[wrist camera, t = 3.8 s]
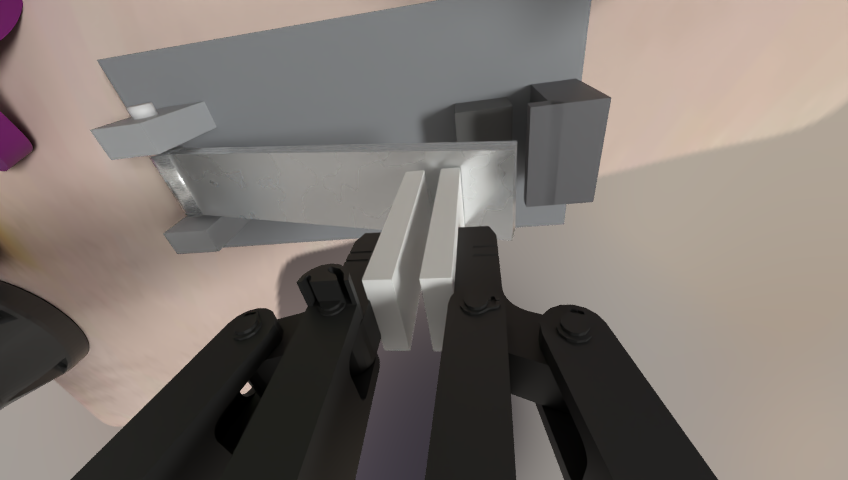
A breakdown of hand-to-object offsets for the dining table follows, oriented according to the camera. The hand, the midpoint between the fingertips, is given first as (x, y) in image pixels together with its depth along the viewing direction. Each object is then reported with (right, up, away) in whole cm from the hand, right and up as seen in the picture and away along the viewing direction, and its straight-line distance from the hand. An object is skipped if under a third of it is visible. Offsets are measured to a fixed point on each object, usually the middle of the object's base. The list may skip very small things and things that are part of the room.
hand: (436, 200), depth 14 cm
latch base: (-5, +5, +9) cm, 12 cm away
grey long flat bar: (-6, +2, +4) cm, 8 cm away
